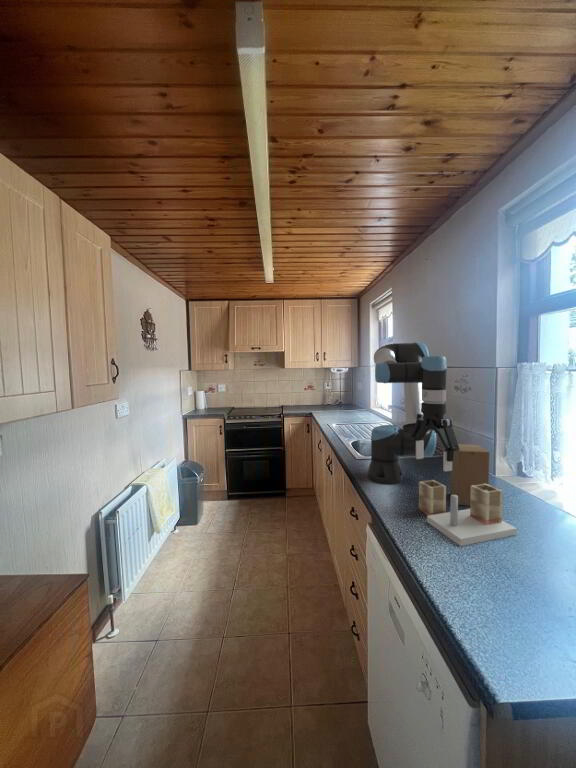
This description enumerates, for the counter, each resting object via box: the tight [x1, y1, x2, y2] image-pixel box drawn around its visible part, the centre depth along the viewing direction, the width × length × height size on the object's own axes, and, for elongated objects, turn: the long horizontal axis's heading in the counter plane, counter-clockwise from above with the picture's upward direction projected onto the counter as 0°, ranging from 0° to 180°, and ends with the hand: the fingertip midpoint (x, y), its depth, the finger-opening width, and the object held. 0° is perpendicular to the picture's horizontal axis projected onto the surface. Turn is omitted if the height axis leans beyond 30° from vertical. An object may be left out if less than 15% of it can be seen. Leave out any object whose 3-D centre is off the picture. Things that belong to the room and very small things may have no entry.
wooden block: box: [449, 443, 490, 507], centre depth 116 cm, size 10×10×20 cm
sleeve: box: [418, 479, 447, 516], centre depth 108 cm, size 6×6×10 cm
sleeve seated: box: [469, 484, 504, 525], centre depth 99 cm, size 6×6×10 cm
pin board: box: [426, 490, 518, 547], centre depth 97 cm, size 14×20×11 cm
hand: (432, 464), depth 107 cm, fingers open, 13 cm apart
